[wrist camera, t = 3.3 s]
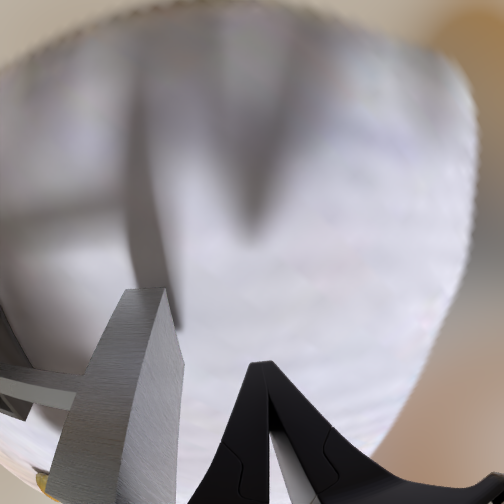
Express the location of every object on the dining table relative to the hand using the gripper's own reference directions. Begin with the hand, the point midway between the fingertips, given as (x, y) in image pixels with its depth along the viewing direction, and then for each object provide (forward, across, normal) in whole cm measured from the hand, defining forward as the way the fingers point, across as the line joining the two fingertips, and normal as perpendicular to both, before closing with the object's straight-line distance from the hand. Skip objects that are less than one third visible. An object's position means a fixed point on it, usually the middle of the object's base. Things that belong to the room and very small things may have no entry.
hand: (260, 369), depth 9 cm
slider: (+2, +18, 0) cm, 18 cm away
